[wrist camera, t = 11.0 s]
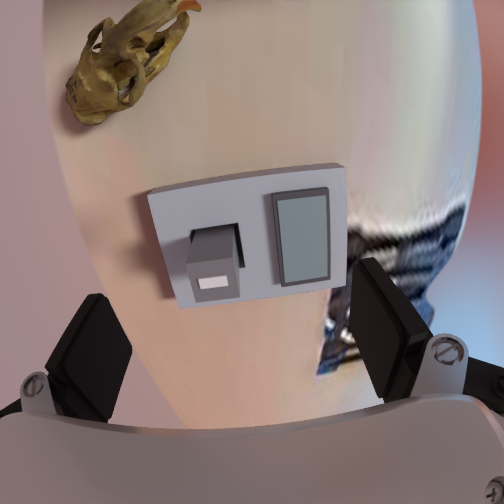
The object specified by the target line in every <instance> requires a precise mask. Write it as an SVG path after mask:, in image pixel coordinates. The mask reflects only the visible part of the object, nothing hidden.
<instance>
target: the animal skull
mask: <svg viewBox="0 0 504 504" xmlns="http://www.w3.org/2000/svg"><path fill="white" fill-rule="evenodd" d="M187 10H193V11H198V12H200V11H201V6H200V4H199V3H198V2H197V1H196V0H144V1H142V2H141V3H139V4H138V5H137V6H136V7H134V8H133V9H132V10H131V11H130V12H129V13H127V14H126V15H125V16H124V17H123V18H122V20H121V21H120V22H119V23H118V24H117V25H116V24H115V23H114V21H113V20H112V19H111V18H110V17H109V18H107V19H104V20H103V21H101V22H100V23H99V24H97V25H96V26H95V27H94V28H93V29H92V31H91V32H90V33H89V35H88V41H87V43H86V45H85V47H84V49H83V51H82V53H81V58H80V61H79V64H78V66H77V67H76V69H75V71H74V74H73V76H72V77H71V78H69V80H68V82H67V84H66V87H67V89H68V91H67V92H66V102H67V103H68V104H69V105H70V107H71V109H72V111H73V114H74V116H75V117H76V119H77V120H79V121H80V122H81V123H83V124H84V125H98V124H101V123H102V121H103V120H104V119H105V118H106V117H107V115H108V114H111V113H113V111H122V110H125V109H127V108H130V107H132V106H133V105H134V104H135V103H136V102H137V101H138V100H139V99H140V98H141V96H142V95H143V93H144V90H145V87H146V85H147V84H148V83H149V82H151V81H152V80H153V79H154V78H155V77H156V76H157V75H158V74H159V73H160V72H161V71H162V70H163V69H164V68H165V67H166V66H167V64H168V62H169V58H170V55H171V52H172V51H173V50H174V49H175V48H176V46H177V45H178V44H179V42H180V41H181V39H182V37H183V35H184V34H185V32H186V30H187V28H188V26H189V16H188V14H187V13H186V12H185V11H187ZM176 16H177V20H176V22H174V23H173V24H172V25H171V26H170V27H169V28H167V29H166V30H164V31H162V32H156V31H157V30H158V29H159V28H160V27H161V26H163V25H164V24H165V23H167V22H168V21H170V20H171V19H173V18H175V17H176ZM101 31H102V42H101V43H98V44H96V45H94V47H93V49H97V48H101V49H100V52H98V53H96V52H93V51H92V48H91V47H92V46H93V44H94V43H95V41H96V39H97V38H98V35H99V34H100V32H101ZM157 48H160V49H159V50H158V51H154V52H152V53H146V51H149V50H152V49H157ZM131 77H134V80H135V83H134V86H133V88H132V89H131V90H129V91H128V92H127V93H125V94H121V95H120V96H119V92H118V91H119V90H122V89H124V88H125V87H126V86H127V85H128V84H129V82H130V81H129V80H130V78H131ZM125 96H126V97H125ZM124 97H125V98H124Z"/></svg>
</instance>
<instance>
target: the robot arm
mask: <svg viewBox="0 0 504 504" xmlns="http://www.w3.org/2000/svg"><path fill="white" fill-rule="evenodd" d="M349 327H350V330H351V332H352V335H353V337H354V339H355V342H356V344H357V347H358V349H359V351H360V354H361V356H362V359H363V361H364V364H365V366H366V369H367V371H368V374H369V376H370V379H371V381H372V384H373V386H374V389H375V392H376V394H377V396H378V398H383V400H384V404H380V405H376V406H372V407H368V408H364V409H360V410H356V411H351V412H347V413H342V414H337V415H332V416H327V417H321V418H316V419H310V420H304V421H298V422H291V423H283V424H275V425H266V426H256V427H243V428H226V429H165V428H163V429H162V428H147V427H135V426H124V425H116V424H108V419H110V418H111V417H112V414H113V411H114V407H115V404H116V401H117V397H118V394H119V391H120V387H121V385H122V381H123V378H124V375H125V372H126V369H127V366H128V364H129V361H130V357H131V355H132V345H131V343H130V341H129V340H128V338H127V336H126V334H125V332H124V330H123V328H122V326H121V324H120V322H119V320H118V319H117V317H116V315H115V312H114V310H113V308H112V306H111V304H110V302H109V300H108V298H107V297H105V296H104V295H103V294H101V293H97V294H89V295H88V296H87V297H86V299H85V300H84V301H83V303H82V304H81V306H80V307H79V309H78V311H77V312H76V314H75V315H74V317H73V319H72V320H71V322H70V323H69V325H68V327H67V328H66V330H65V332H64V333H63V335H62V337H61V338H60V340H59V342H58V344H57V345H56V347H55V349H54V350H53V352H52V354H51V356H50V358H49V360H48V362H47V363H46V365H45V368H46V370H47V371H48V372H49V374H48V376H47V375H45V373H43V372H34V373H32V374H30V375H29V376H28V377H27V378H26V379H25V380H24V381H23V383H22V385H21V388H20V396H21V398H20V399H18V400H16V401H15V402H13V403H12V404H10V405H9V406H7V407H5V408H4V409H2V410H1V411H0V504H504V368H502V367H499V366H496V365H493V364H490V363H487V362H484V361H480V360H478V359H475V358H471V357H469V355H468V349H467V346H466V344H465V343H464V342H463V341H462V340H461V339H460V338H458V337H457V336H454V335H452V334H445V333H444V334H438V335H436V336H433V334H432V333H431V331H430V330H429V328H428V327H427V325H426V324H425V322H424V321H423V319H422V318H421V316H420V315H419V313H418V312H417V311H416V309H415V308H414V306H413V305H412V304H411V302H410V301H409V299H408V298H407V297H406V295H405V294H404V293H403V291H402V290H401V289H398V288H397V287H396V285H395V284H394V283H393V281H392V280H391V279H390V277H389V276H388V275H387V273H386V272H385V271H384V269H383V268H382V267H381V265H380V264H379V263H378V262H377V260H376V259H375V258H374V257H371V258H364V259H359V260H358V262H357V264H354V265H353V275H352V290H351V303H350V314H349Z"/></svg>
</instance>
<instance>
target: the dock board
mask: <svg viewBox="0 0 504 504" xmlns="http://www.w3.org/2000/svg"><path fill="white" fill-rule="evenodd" d="M147 197H148V202H149V206H150V210H151V214H152V218H153V221H154V225H155V229H156V233H157V237H158V240H159V244H160V247H161V251H162V254H163V258H164V261H165V265H166V268H167V271H168V274H169V278H170V281H171V284H172V287H173V290H174V294H175V297H176V300H177V303H178V306H179V309H182V308H191V307H200V306H209V305H218V304H226V303H234V302H242V301H249V300H256V299H264V298H271V297H278V296H284V295H291V294H297V293H304V292H310V291H316V290H322V289H328V288H334V287H340V286H345V285H346V263H347V184H346V167H344V166H342V165H340V164H338V163H327V164H315V165H304V166H294V167H285V168H276V169H268V170H260V171H252V172H245V173H238V174H231V175H225V176H218V177H212V178H206V179H200V180H195V181H189V182H184V183H178V184H173V185H168V186H163V187H158V188H154V189H153V190H152V191H151V192H150V193H149V194H148V195H147ZM232 223H234V226H235V232H236V238H237V244H238V250H239V278H240V298H232V299H224V300H216V301H207V302H198V303H196V301H195V298H194V294H193V291H192V287H191V284H190V280H189V276H188V273H187V269H186V265H185V263H186V260H187V257H188V254H189V251H190V248H191V244H192V241H193V238H194V235H195V232H196V229H199V228H206V227H212V226H219V225H225V224H232Z"/></svg>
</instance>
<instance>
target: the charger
mask: <svg viewBox="0 0 504 504" xmlns="http://www.w3.org/2000/svg"><path fill="white" fill-rule="evenodd" d="M185 265H186V269H187V273H188V276H189V280H190V284H191V287H192V291H193V294H194V298H195V301H196V303H198V302H207V301H216V300H224V299H232V298H240V278H239V250H238V244H237V238H236V232H235V226H234V223H232V224H225V225H219V226H212V227H206V228H199V229H196V232H195V235H194V238H193V241H192V244H191V248H190V251H189V254H188V257H187V260H186V263H185Z"/></svg>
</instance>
